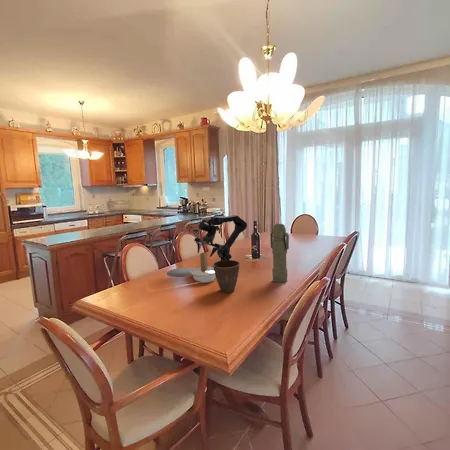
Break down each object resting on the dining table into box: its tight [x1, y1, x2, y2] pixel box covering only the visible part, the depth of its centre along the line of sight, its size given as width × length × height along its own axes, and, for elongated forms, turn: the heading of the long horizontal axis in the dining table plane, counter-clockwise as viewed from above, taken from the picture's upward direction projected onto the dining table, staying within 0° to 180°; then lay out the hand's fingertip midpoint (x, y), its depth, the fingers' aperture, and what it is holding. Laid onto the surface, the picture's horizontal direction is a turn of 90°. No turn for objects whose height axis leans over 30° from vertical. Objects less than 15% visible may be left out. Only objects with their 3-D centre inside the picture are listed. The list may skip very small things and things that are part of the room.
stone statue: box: [269, 223, 290, 284], centre depth 173 cm, size 9×12×35 cm
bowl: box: [192, 274, 216, 284], centre depth 184 cm, size 14×14×5 cm
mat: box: [166, 267, 194, 278], centre depth 197 cm, size 20×20×1 cm
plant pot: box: [212, 259, 240, 294], centre depth 162 cm, size 15×15×16 cm
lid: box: [190, 252, 215, 276], centre depth 183 cm, size 18×18×12 cm
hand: (204, 255), depth 196 cm, fingers open, 9 cm apart
